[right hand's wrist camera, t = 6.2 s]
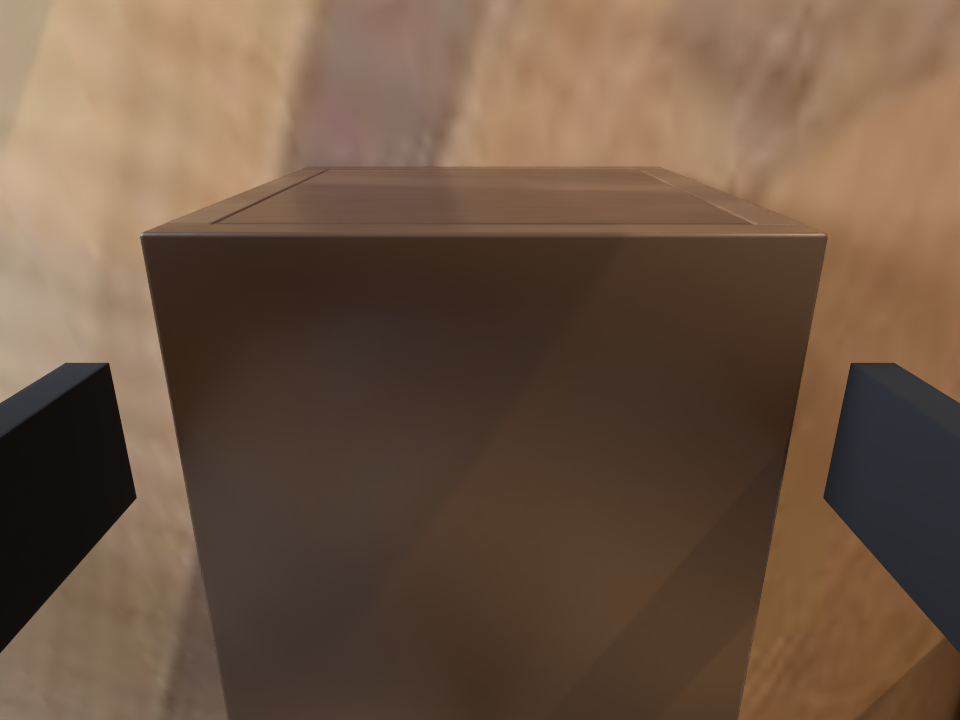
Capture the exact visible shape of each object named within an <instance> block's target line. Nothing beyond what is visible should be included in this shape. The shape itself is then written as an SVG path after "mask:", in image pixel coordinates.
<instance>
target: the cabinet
mask: <svg viewBox="0 0 960 720" xmlns="http://www.w3.org/2000/svg"><path fill="white" fill-rule="evenodd" d="M140 239H141V244H142V250H143V255H144V261H145V266H146V272H147V277H148V283H149V288H150V294H151V299H152V305H153V310H154V316H155V321H156V327H157V332H158V338H159V343H160V349H161V354H162V360H163V365H164V370H165V376H166V381H167V387H168V392H169V398H170V403H171V409H172V414H173V420H174V425H175V431H176V436H177V442H178V447H179V453H180V458H181V464H182V469H183V475H184V480H185V486H186V491H187V497H188V502H189V508H190V513H191V519H192V524H193V530H194V535H195V541H196V546H197V552H198V557H199V563H200V568H201V574H202V579H203V585H204V590H205V596H206V601H207V607H208V612H209V618H210V623H211V629H212V634H213V640H214V645H215V651H216V656H217V662H218V667H219V673H220V678H221V684H222V689H223V695H224V700H225V706H226V711H227V717H228V720H738V716H739V710H740V705H741V700H742V694H743V689H744V684H745V678H746V673H747V667H748V662H749V657H750V651H751V646H752V641H753V635H754V630H755V624H756V619H757V614H758V608H759V603H760V598H761V592H762V587H763V581H764V576H765V571H766V565H767V560H768V555H769V549H770V544H771V538H772V533H773V528H774V522H775V517H776V512H777V506H778V501H779V495H780V490H781V485H782V479H783V474H784V469H785V463H786V458H787V453H788V447H789V442H790V436H791V431H792V426H793V420H794V415H795V410H796V404H797V399H798V393H799V388H800V383H801V377H802V372H803V367H804V361H805V356H806V350H807V345H808V340H809V334H810V329H811V324H812V318H813V313H814V307H815V302H816V297H817V291H818V286H819V281H820V275H821V270H822V264H823V259H824V254H825V248H826V243H827V234H826V233H824V232H821V231H819V230H816V229H814V228H811V227H809V226H806V225H804V224H802V223H800V222H797V221H795V220H792V219H790V218H787V217H785V216H782V215H780V214H777V213H775V212H772V211H770V210H767V209H764V208H762V207H759V206H757V205H754V204H752V203H749V202H747V201H744V200H742V199H739V198H737V197H734V196H732V195H729V194H726V193H724V192H721V191H719V190H716V189H714V188H711V187H709V186H706V185H704V184H701V183H699V182H696V181H694V180H691V179H688V178H686V177H683V176H681V175H678V174H676V173H673V172H671V171H668V170H665V169H663V168H660V167H306V168H304V169H301V170H298V171H296V172H293V173H291V174H288V175H286V176H283V177H281V178H278V179H276V180H273V181H271V182H268V183H266V184H263V185H261V186H258V187H255V188H253V189H250V190H248V191H245V192H243V193H240V194H238V195H235V196H233V197H230V198H228V199H225V200H223V201H220V202H218V203H215V204H213V205H210V206H208V207H205V208H203V209H200V210H197V211H195V212H192V213H190V214H187V215H185V216H182V217H180V218H177V219H175V220H172V221H170V222H167V223H165V224H163V225H160V226H158V227H155V228H153V229H150V230H148V231H145V232H143V233H141V236H140Z"/></svg>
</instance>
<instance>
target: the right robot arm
mask: <svg viewBox="0 0 960 720" xmlns="http://www.w3.org/2000/svg"><path fill="white" fill-rule="evenodd" d="M136 498H137V497H136V492H135V488H134V483H133V478H132V473H131V468H130V463H129V458H128V453H127V449H126V444H125V439H124V434H123V429H122V424H121V419H120V414H119V409H118V405H117V400H116V395H115V390H114V385H113V380H112V375H111V370H110V366H109V363H65V364H63V365H62V366H60V367H58V368H57V369H55V370H54V371H52V372H50V373H49V374H47V375H45V376H44V377H42V378H41V379H39V380H37V381H36V382H34V383H32V384H31V385H29V386H28V387H26V388H24V389H23V390H21V391H19V392H18V393H16V394H15V395H13V396H11V397H10V398H8V399H7V400H5V401H3V402H2V403H0V653H1V652H2V651H3V649H4V648H5V647H6V646H7V645H8V644H9V643H10V641H11V640H12V639H13V638H14V637H15V636H16V635H17V633H18V632H19V631H20V630H21V629H22V628H23V627H24V625H25V624H26V623H27V622H28V621H29V620H30V619H31V618H32V616H33V615H34V614H35V613H36V612H37V611H38V610H39V608H40V607H41V606H42V605H43V604H44V603H45V602H46V600H47V599H48V598H49V597H50V596H51V595H52V594H53V592H54V591H55V590H56V589H57V588H58V587H59V586H60V585H61V583H62V582H63V581H64V580H65V579H66V578H67V577H68V575H69V574H70V573H71V572H72V571H73V570H74V569H75V567H76V566H77V565H78V564H79V563H80V562H81V561H82V559H83V558H84V557H85V556H86V555H87V554H88V553H89V552H90V550H91V549H92V548H93V547H94V546H95V545H96V544H97V542H98V541H99V540H100V539H101V538H102V537H103V536H104V534H105V533H106V532H107V531H108V530H109V529H110V528H111V527H112V525H113V524H114V523H115V522H116V521H117V520H118V519H119V517H120V516H121V515H122V514H123V513H124V512H125V511H126V509H127V508H128V507H129V506H130V505H131V504H132V503H133V501H134V500H135V499H136ZM823 498H824V499H825V500H826V501H827V503H828V504H829V505H830V506H831V507H832V508H833V509H834V511H835V512H836V513H837V514H838V515H839V516H840V517H841V519H842V520H843V521H844V522H845V523H846V524H847V525H848V527H849V528H850V529H851V530H852V531H853V532H854V533H855V534H856V536H857V537H858V538H859V539H860V540H861V541H862V542H863V544H864V545H865V546H866V547H867V548H868V549H869V550H870V552H871V553H872V554H873V555H874V556H875V557H876V558H877V559H878V561H879V562H880V563H881V564H882V565H883V566H884V567H885V569H886V570H887V571H888V572H889V573H890V574H891V575H892V577H893V578H894V579H895V580H896V581H897V582H898V583H899V585H900V586H901V587H902V588H903V589H904V590H905V591H906V592H907V594H908V595H909V596H910V597H911V598H912V599H913V600H914V602H915V603H916V604H917V605H918V606H919V607H920V608H921V610H922V611H923V612H924V613H925V614H926V615H927V616H928V618H929V619H930V620H931V621H932V622H933V623H934V624H935V625H936V627H937V628H938V629H939V630H940V631H941V632H942V633H943V635H944V636H945V637H946V638H947V639H948V640H949V641H950V643H951V644H952V645H953V646H954V647H955V648H956V649H957V651H958V652H959V653H960V403H958V402H957V401H955V400H953V399H952V398H950V397H949V396H947V395H945V394H944V393H942V392H941V391H939V390H937V389H936V388H934V387H932V386H931V385H929V384H928V383H926V382H924V381H923V380H921V379H919V378H918V377H916V376H915V375H913V374H911V373H910V372H908V371H906V370H905V369H903V368H902V367H900V366H898V365H897V364H895V363H851V366H850V370H849V375H848V380H847V385H846V390H845V395H844V400H843V405H842V409H841V414H840V419H839V424H838V429H837V434H836V439H835V444H834V448H833V453H832V458H831V463H830V468H829V473H828V478H827V483H826V488H825V492H824V497H823Z"/></svg>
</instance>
